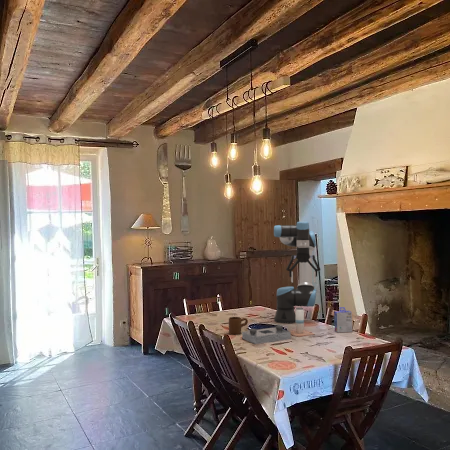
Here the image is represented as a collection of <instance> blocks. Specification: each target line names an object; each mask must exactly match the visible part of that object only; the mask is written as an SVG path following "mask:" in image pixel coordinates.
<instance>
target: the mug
mask: <svg viewBox="0 0 450 450" xmlns="http://www.w3.org/2000/svg"><path fill="white" fill-rule="evenodd" d="M244 321H245V322H244ZM242 322H244V323H242ZM248 323H249V320H248V318H247V317H239V316H230V317H229V318H228V334H230V335H234V336H236V335H241V334H242V328H243V327H245V326H247V325H248Z"/></svg>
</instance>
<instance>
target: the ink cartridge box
mask: <svg viewBox="0 0 450 450" xmlns="http://www.w3.org/2000/svg"><path fill="white" fill-rule="evenodd" d="M338 308H339V310H338V311H337V310H336V311H333V315H334V317H333V319H334V331H335V333H352V332H353V312H352V311H351V310H346V307H345V306H342V307H338Z"/></svg>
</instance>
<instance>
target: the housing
mask: <svg viewBox="0 0 450 450" xmlns="http://www.w3.org/2000/svg"><path fill="white" fill-rule="evenodd" d="M290 331H291V330H290ZM290 331H289V330H286V329H281V331H278V329H276V326H275V327H269V328H268V327H267V328H260V329H257V333H255V334H253V335H252V334H251V333H250V331H249V330H245V331H241V334H242V335H241V336H242V337H241V338H242V340H245V341H246V342H249V343H251V344H253V345H258V344H264V343H265V344H266V343H271V342H279V341H284V340H291V337H292V335H291V332H290Z"/></svg>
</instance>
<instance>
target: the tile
mask: <svg viewBox="0 0 450 450" xmlns="http://www.w3.org/2000/svg"><path fill="white" fill-rule="evenodd" d="M290 332H291V336H293V337H296V338H301V337H308V336H314V335H315V333H314V332H311V331H308V330H304V333H303V334H297V333H296V330H290Z"/></svg>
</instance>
